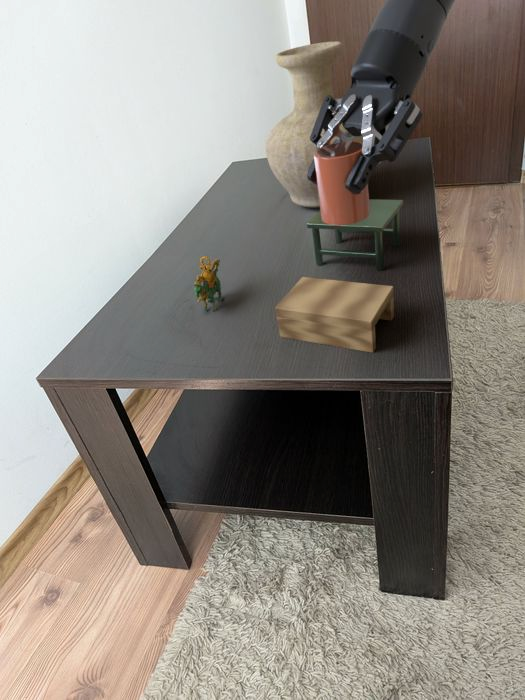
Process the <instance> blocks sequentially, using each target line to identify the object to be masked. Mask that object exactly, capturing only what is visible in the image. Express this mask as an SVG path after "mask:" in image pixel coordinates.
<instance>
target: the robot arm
mask: <svg viewBox="0 0 525 700" xmlns="http://www.w3.org/2000/svg"><path fill="white" fill-rule="evenodd" d="M456 1H457V0H385V1H384V2H383V4H382V6H381V8H380V9H379V11H378V13H377V14H376V16H375V18H374V21H373V23H372V25H371V27H370V28H369V31H368V34H367V36H366V38H365V39H364V42H363V44H362V46H361V48H360V50H359V53H358V54H357V57H356V59H355V61H354V63H353V66H352V67H351V70H350V77H351V85H350V87H349V89H348V90H347V91H346V92H345V94H344V95H343V96H342V97H341V98H335V97H334V98H333V97H332V96H331V95H327V96H326V97H325V98H324V100H323V103H322V106H321V109H320V111H319V114H318V117H317V119H316V122H315V125H314V128H313V130H312V133H311V136H310V141H312V142H313V143H314V144H315V145H316V146H317V150H318V149H319V148H321V147H324V146H326V145H330V142H331V140H332V139H333V138H334V137H335V136H337V137H338V138H337V139H336V140H335V142H334V143H339V142H348V141H352V140H353V139H354V138H355V137H356V136H357V137H358V136H363V146H362V154H363V156H360V155H359V156H358V158H357V160H356V162H355V164H354V166H353V168H352V170H351V172H350V174H349V176H348V179H347V181H346V183H345V187H346V189H348V190H349V191H350V192H352V193H353V194H360V193H361V191H362V190H363V189H364V188H365V187H366V185H367V183H368V184H369V181H370V179H371V177H372V175H373V173H374V171H375V169H376V167H377V166H379V165H380V164H381V163H382V162H385V161H388V162H389V163H393V162H395V161H396V160H397V159H398V157H399V155H400V154H401V152H402V150H403V149H404V148H405V145H406V144H407V142H408V140H410V137H411V135H412V134H413V133H414V131H415V129H416V128H417V126H418V125H419V123H420V121H421V120H422V118H423V115H424V114H423V112H422V110H421V109H420V107H419V106H418V105H417V103H415V102H414V101H413V100H412V96H413V93H414V92H415V89H416V88H417V86H418V83H419V82H420V79H421V78H422V75H423V74H424V71H425V69H426V67H427V65H428V64H429V61H430V59H431V58H432V55H433V53H434V51H435V49H436V47H437V45H438V42H439V40H440V37H441V33H442V31H443V28H444V25H445V23H446V21H447V19H448V17H449V15H450V13H451V11H452V9H453V7H454V5H455V3H456ZM341 124H342V125H343V127H344V128H345V129H346V130H347V132H343V131H342V130H340V129H339V127H340V125H341ZM323 129H324V135H323V136H321V132H322V130H323ZM334 143H333V144H334ZM307 178H308V180H310V181H311V182H313V183H314V184H316V185H317V179H316V171H315V163H314V159H313V161H312V163H311V166H310V167H309V169H308V173H307Z"/></svg>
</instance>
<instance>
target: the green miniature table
mask: <svg viewBox="0 0 525 700" xmlns="http://www.w3.org/2000/svg"><path fill="white" fill-rule="evenodd" d="M369 202H370V214H369V216H368V217H367V218H365V219H364V220H362V221H359V222H357V223H353V224H348V225H330V224H326V223H324V222H323V221H322V219H321V212H320V210H319V211H318V212H317V213H316V214H315V215H314V216H313V217H312V218H311V219H310V220H309V221H308V222H307V223H306V227H307V229H311V233H312V240H313V248H314V256H315V263H316V266H322V265H324V259H323V258H324V257H323V255H324V256H335V257H349V258H361V259H373V260H375V267H376V268H375V269H376V271H377V272H382V271H384V269H385V267H384V266H385V265H384V263H385V262H384V242H383V235H386V236H392V246H393V247H395V248H399V247H400V246H401V225H400V224H401V222H400V221H401V220H400V219H401V217H400V215H401V214H400V209H401V208H402V207H403V206H404V199H373V198H372V199H370V198H369ZM391 221H392V228H386V227H387V226H388V225H389V224H390V222H391ZM320 230H334V236H335V244H340V243H341V244H342V243H343V233H346V234H363V235H364V234H365V235H374V249H375V252H374V251H361V250H349V249H348V250H346V249H335V248H334V249H333V248H322V243H321V234H320Z"/></svg>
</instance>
